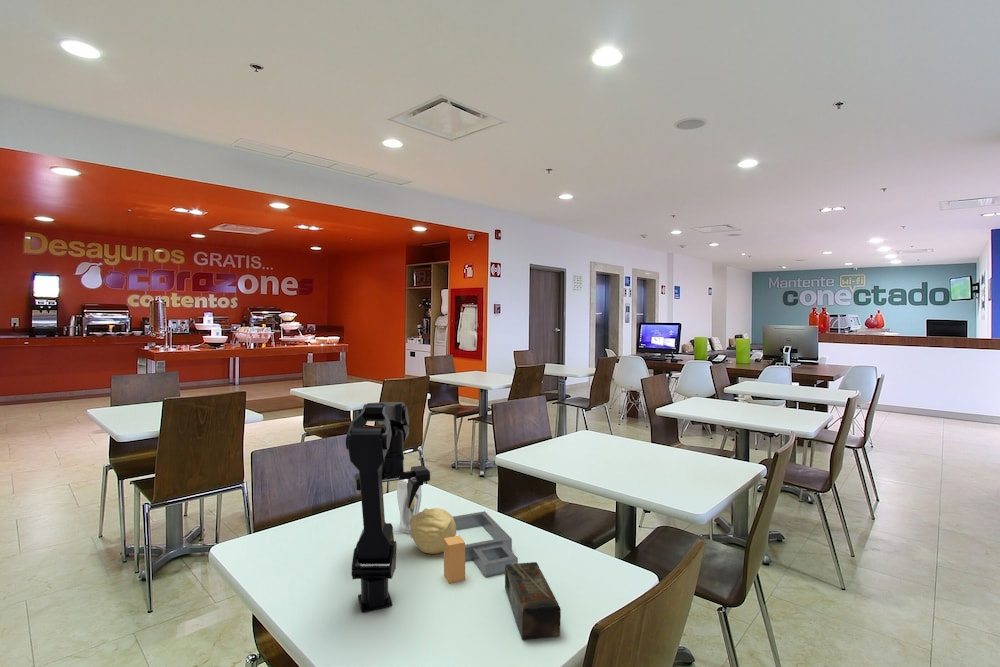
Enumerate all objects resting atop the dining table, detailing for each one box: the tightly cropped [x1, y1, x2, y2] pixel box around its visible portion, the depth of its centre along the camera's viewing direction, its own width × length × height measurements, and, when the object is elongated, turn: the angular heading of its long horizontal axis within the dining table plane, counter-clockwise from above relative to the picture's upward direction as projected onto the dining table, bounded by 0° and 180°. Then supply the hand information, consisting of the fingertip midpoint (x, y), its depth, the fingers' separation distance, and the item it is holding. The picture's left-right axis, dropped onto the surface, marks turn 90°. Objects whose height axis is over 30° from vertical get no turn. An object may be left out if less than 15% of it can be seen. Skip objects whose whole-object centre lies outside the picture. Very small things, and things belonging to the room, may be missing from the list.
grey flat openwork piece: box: [452, 511, 519, 578], centre depth 134 cm, size 29×14×4 cm, turn 22°
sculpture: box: [410, 507, 457, 555], centre depth 134 cm, size 11×12×11 cm
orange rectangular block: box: [443, 535, 466, 584], centre depth 119 cm, size 4×4×9 cm
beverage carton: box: [504, 561, 562, 640], centre depth 106 cm, size 8×19×7 cm, turn 10°
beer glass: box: [396, 479, 422, 534], centre depth 146 cm, size 7×7×15 cm
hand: (392, 510), depth 130 cm, fingers open, 8 cm apart
